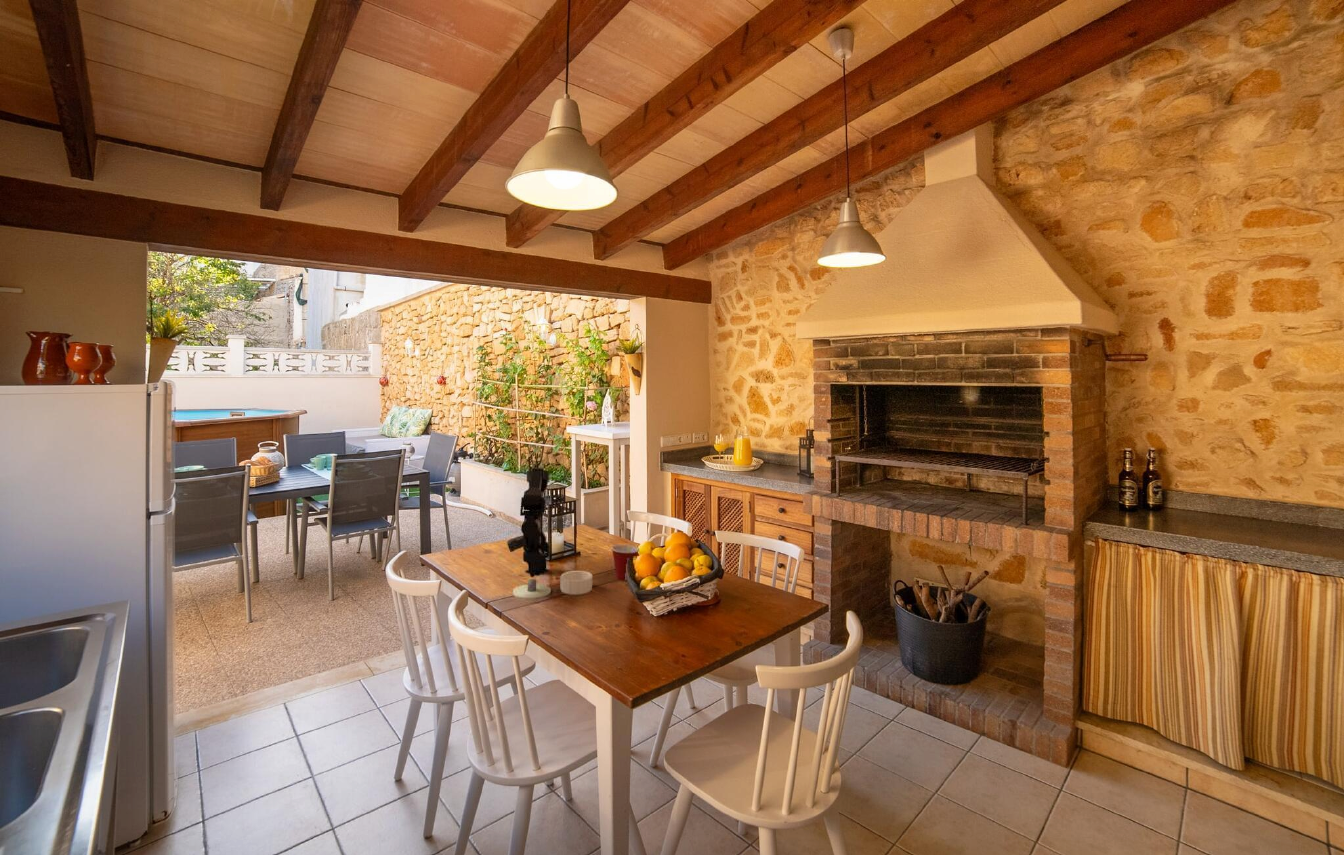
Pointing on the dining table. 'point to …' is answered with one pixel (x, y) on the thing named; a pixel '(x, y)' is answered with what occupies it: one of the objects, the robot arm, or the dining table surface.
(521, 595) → the lid
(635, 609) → the dining table surface
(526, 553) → the robot arm
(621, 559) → the plastic cup
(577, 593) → the bowl
